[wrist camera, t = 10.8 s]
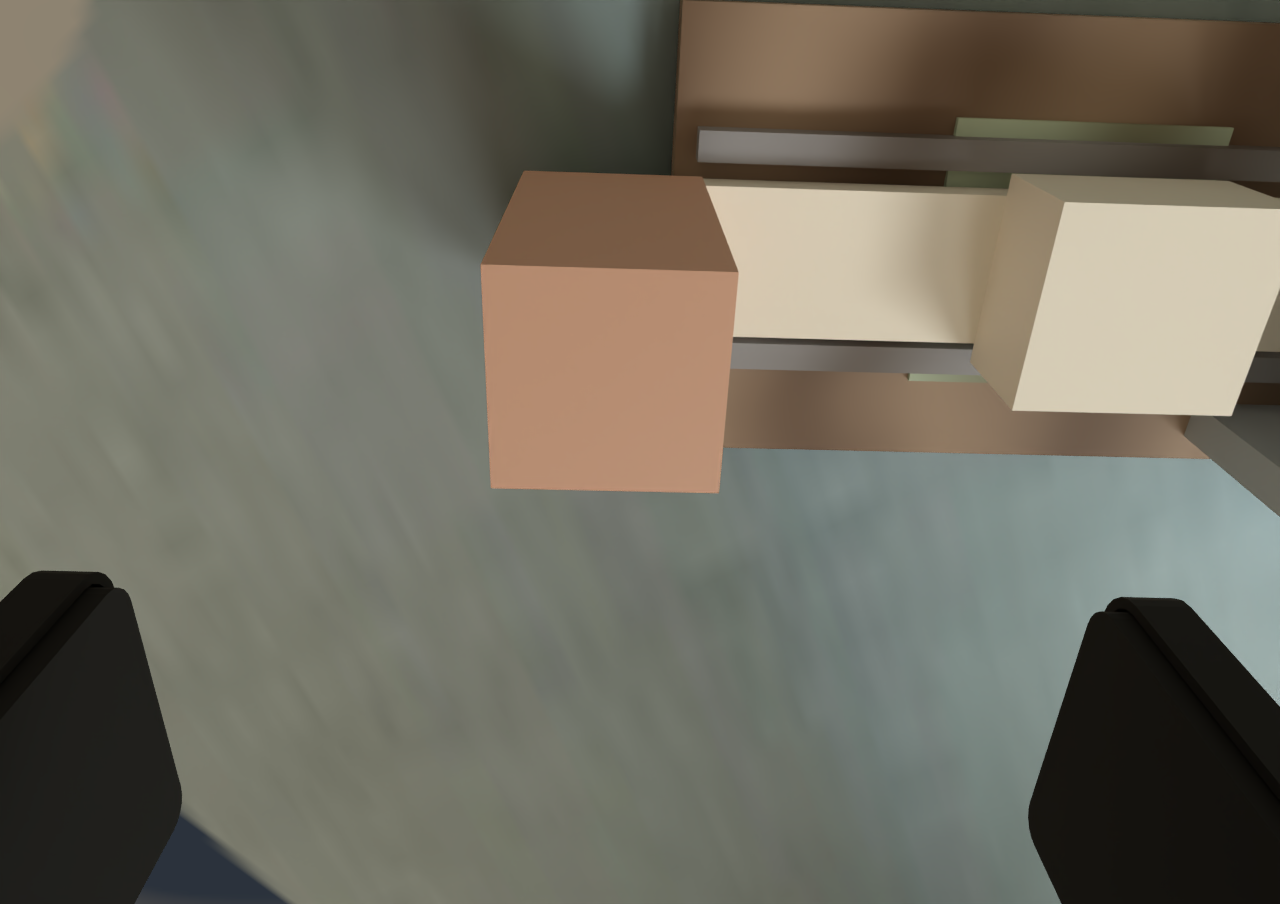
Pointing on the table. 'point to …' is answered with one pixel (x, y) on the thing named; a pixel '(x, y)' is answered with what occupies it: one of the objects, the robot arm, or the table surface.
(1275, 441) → the bridge tunnel
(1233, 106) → the rail board
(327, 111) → the table surface
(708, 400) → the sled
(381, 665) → the table surface
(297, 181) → the table surface
